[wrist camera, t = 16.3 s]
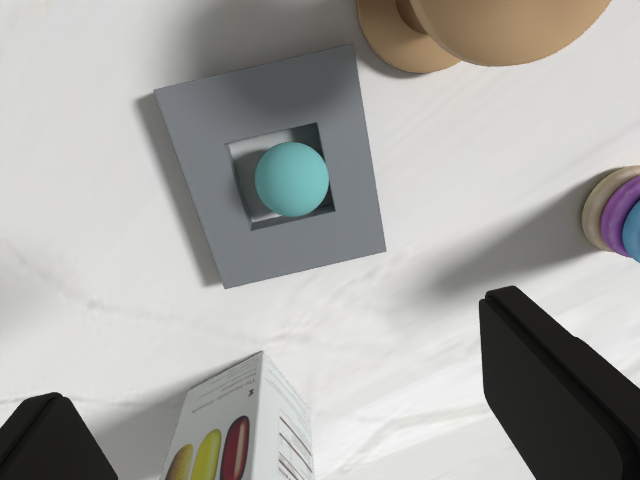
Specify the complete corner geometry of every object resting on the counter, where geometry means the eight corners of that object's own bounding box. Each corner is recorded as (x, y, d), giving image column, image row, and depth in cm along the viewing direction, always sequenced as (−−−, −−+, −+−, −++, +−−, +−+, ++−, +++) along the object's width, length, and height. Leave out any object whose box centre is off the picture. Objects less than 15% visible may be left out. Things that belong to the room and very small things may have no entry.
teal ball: (239, 149, 29) (254, 158, 24) (305, 131, 31) (332, 136, 26) (258, 215, 31) (275, 235, 27) (320, 196, 33) (346, 211, 28)
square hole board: (161, 89, 28) (153, 89, 26) (348, 46, 28) (353, 43, 26) (227, 278, 34) (224, 289, 32) (380, 242, 34) (386, 251, 32)
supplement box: (264, 347, 37) (251, 534, 22) (312, 406, 41) (331, 605, 25) (183, 391, 38) (116, 599, 23) (236, 445, 42) (210, 659, 26)
